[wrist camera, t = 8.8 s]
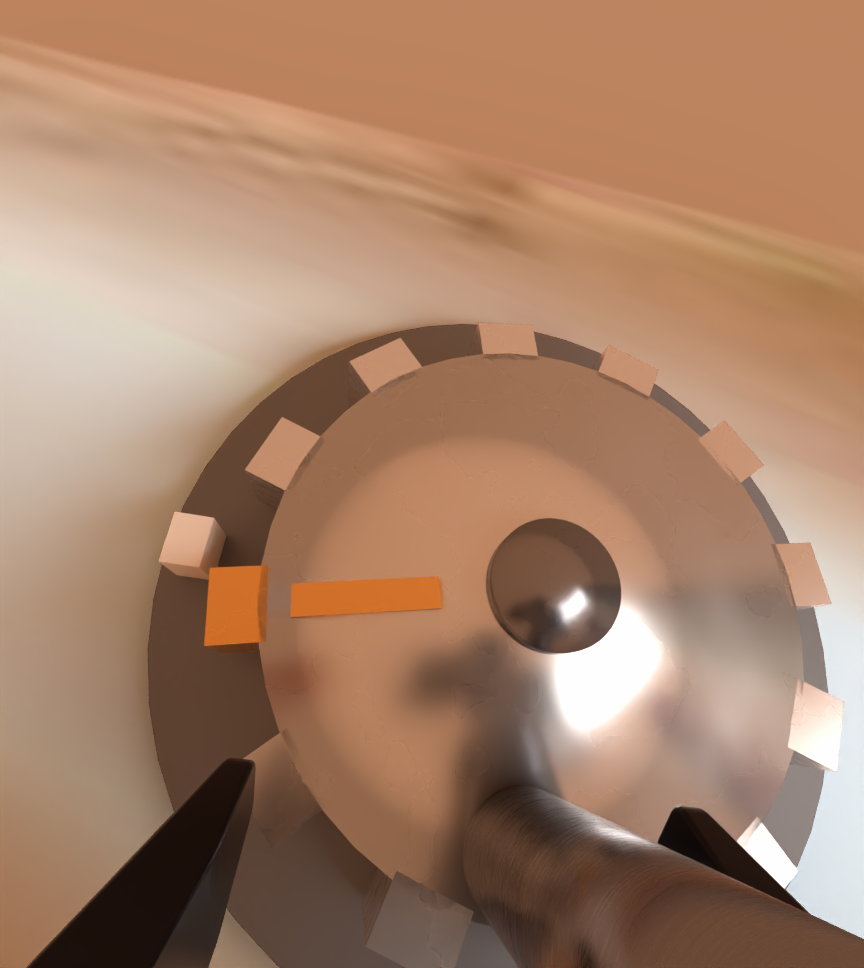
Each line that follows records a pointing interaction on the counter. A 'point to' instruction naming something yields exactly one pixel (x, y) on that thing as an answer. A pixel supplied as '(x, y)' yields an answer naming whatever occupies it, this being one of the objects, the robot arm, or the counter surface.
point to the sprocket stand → (246, 706)
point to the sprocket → (532, 661)
